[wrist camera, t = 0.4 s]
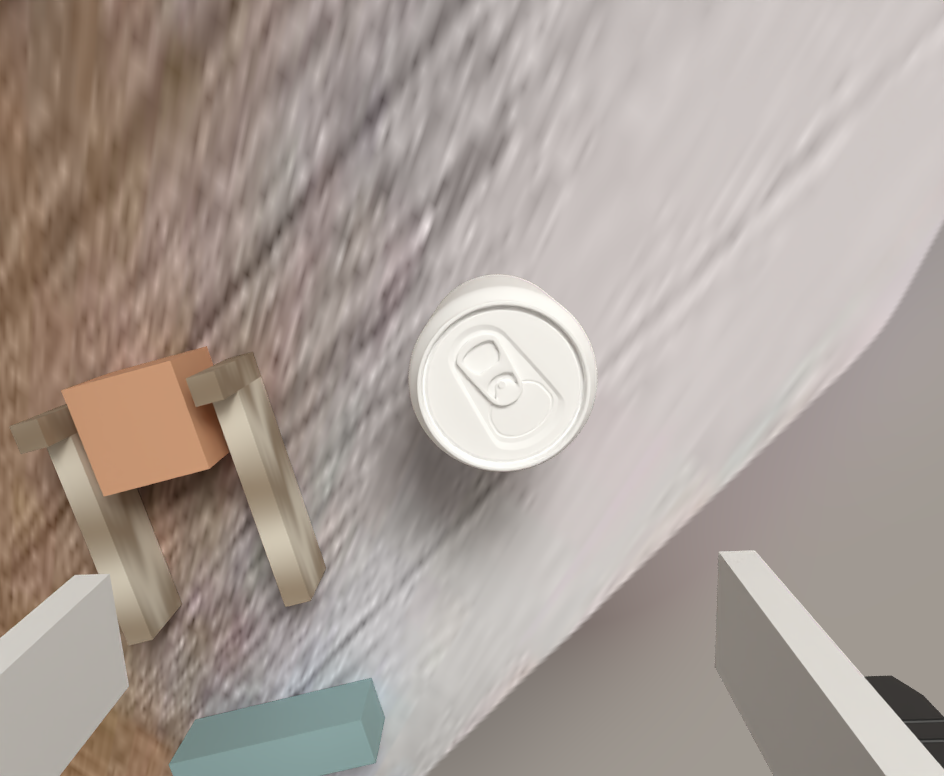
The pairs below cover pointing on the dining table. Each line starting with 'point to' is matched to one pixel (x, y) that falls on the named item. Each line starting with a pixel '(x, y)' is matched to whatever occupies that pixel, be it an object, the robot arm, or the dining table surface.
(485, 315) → the beverage can
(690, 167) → the dining table surface
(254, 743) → the stop block
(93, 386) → the block
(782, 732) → the robot arm
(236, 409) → the parallel beige rails
